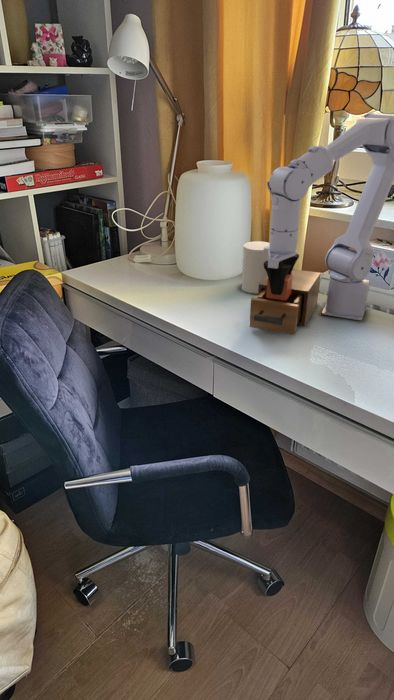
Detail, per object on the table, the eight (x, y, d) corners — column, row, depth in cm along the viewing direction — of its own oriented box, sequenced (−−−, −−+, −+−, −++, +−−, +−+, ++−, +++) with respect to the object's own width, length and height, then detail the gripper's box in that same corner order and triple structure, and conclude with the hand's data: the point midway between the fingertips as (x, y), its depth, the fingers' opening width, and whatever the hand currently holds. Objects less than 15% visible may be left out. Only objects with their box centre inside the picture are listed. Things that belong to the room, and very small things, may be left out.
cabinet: (304, 326, 111) (308, 291, 107) (256, 317, 115) (258, 284, 111) (316, 304, 122) (320, 272, 117) (272, 298, 126) (275, 266, 122)
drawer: (289, 343, 101) (292, 314, 98) (243, 334, 105) (244, 306, 102) (307, 313, 115) (310, 287, 111) (265, 306, 118) (267, 281, 115)
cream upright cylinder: (270, 283, 135) (273, 241, 130) (271, 294, 128) (274, 250, 123) (242, 282, 136) (243, 241, 130) (241, 293, 129) (243, 249, 123)
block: (291, 293, 107) (292, 274, 105) (286, 300, 104) (287, 281, 102) (271, 290, 109) (273, 272, 107) (266, 297, 106) (267, 278, 103)
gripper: (275, 219, 107) (271, 277, 113) (255, 235, 95) (251, 298, 101) (306, 222, 104) (300, 281, 110) (289, 238, 92) (284, 303, 99)
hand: (279, 289), depth 106 cm, fingers closed on block, 4 cm apart
